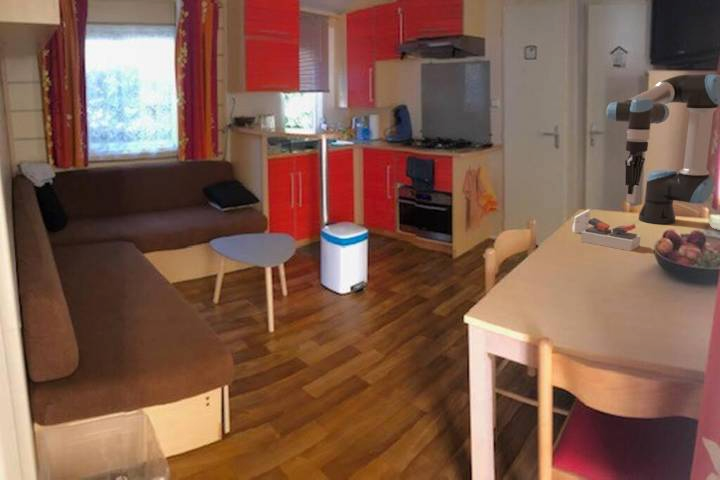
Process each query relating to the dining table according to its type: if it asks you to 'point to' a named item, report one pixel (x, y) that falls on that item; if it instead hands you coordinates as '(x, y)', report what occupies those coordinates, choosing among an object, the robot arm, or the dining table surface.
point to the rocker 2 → (623, 228)
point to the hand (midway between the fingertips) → (630, 202)
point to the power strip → (611, 238)
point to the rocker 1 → (598, 224)
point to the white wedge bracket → (581, 222)
